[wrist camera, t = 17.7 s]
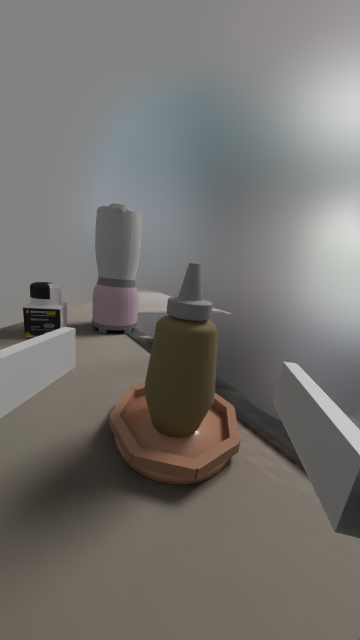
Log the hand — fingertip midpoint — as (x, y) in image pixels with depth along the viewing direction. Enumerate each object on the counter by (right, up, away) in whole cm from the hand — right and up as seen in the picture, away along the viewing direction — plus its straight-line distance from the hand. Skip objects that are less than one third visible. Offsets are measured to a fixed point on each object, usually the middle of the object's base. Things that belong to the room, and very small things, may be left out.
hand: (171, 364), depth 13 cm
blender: (-19, +1, +49) cm, 52 cm away
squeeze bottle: (0, -9, +12) cm, 15 cm away
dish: (0, -10, +12) cm, 16 cm away
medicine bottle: (-31, -1, +37) cm, 49 cm away
